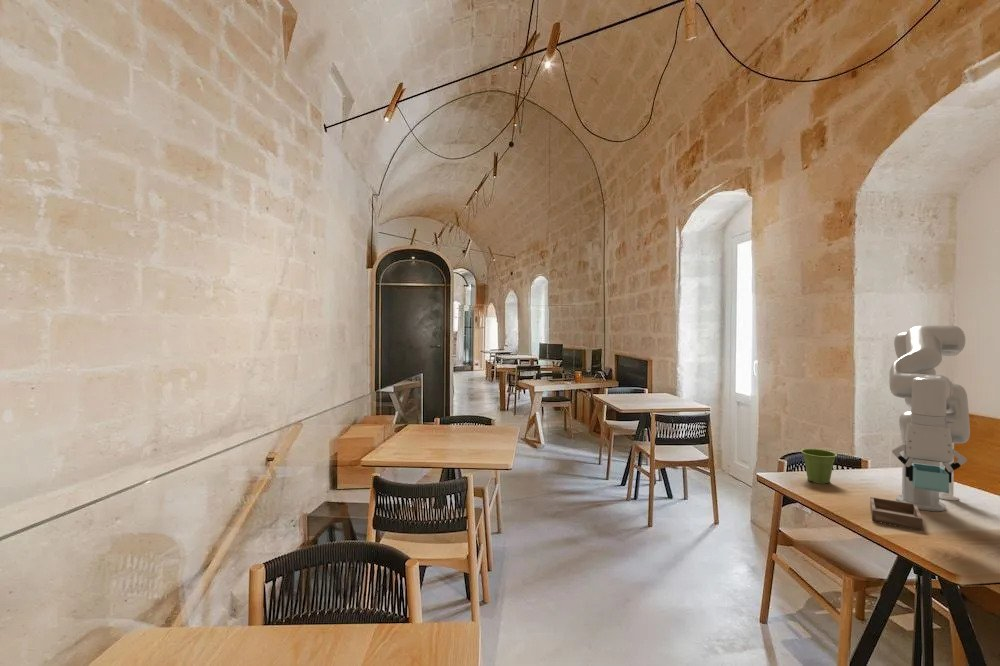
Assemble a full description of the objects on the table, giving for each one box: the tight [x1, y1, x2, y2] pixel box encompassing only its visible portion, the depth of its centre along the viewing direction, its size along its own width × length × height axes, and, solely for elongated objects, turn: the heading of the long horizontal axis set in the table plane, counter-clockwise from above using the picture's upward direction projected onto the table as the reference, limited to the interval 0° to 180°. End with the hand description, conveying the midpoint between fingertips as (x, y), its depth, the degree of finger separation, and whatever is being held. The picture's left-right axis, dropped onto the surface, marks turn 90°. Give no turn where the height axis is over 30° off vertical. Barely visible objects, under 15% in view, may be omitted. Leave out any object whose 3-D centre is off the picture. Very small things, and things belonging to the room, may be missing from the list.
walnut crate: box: [869, 496, 923, 531], centre depth 151 cm, size 15×12×4 cm
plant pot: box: [800, 448, 838, 485], centre depth 188 cm, size 12×12×11 cm
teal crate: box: [911, 463, 949, 493], centre depth 137 cm, size 10×7×5 cm
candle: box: [939, 443, 959, 501], centre depth 170 cm, size 7×7×25 cm
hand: (927, 481), depth 138 cm, fingers closed on teal crate, 7 cm apart
